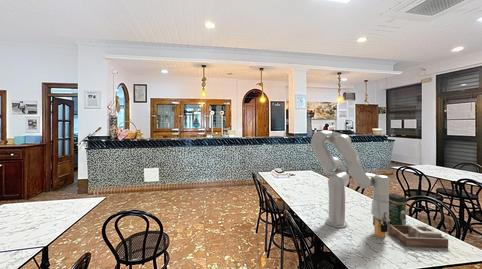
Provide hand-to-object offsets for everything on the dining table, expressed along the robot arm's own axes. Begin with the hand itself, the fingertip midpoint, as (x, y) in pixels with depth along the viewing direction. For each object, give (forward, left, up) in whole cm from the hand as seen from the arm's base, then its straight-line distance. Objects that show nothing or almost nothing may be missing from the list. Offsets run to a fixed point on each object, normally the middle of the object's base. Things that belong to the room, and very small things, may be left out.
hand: (379, 228), depth 130 cm
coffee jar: (-17, +19, -4) cm, 26 cm away
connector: (0, 0, -4) cm, 4 cm away
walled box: (+4, +17, -4) cm, 18 cm away
